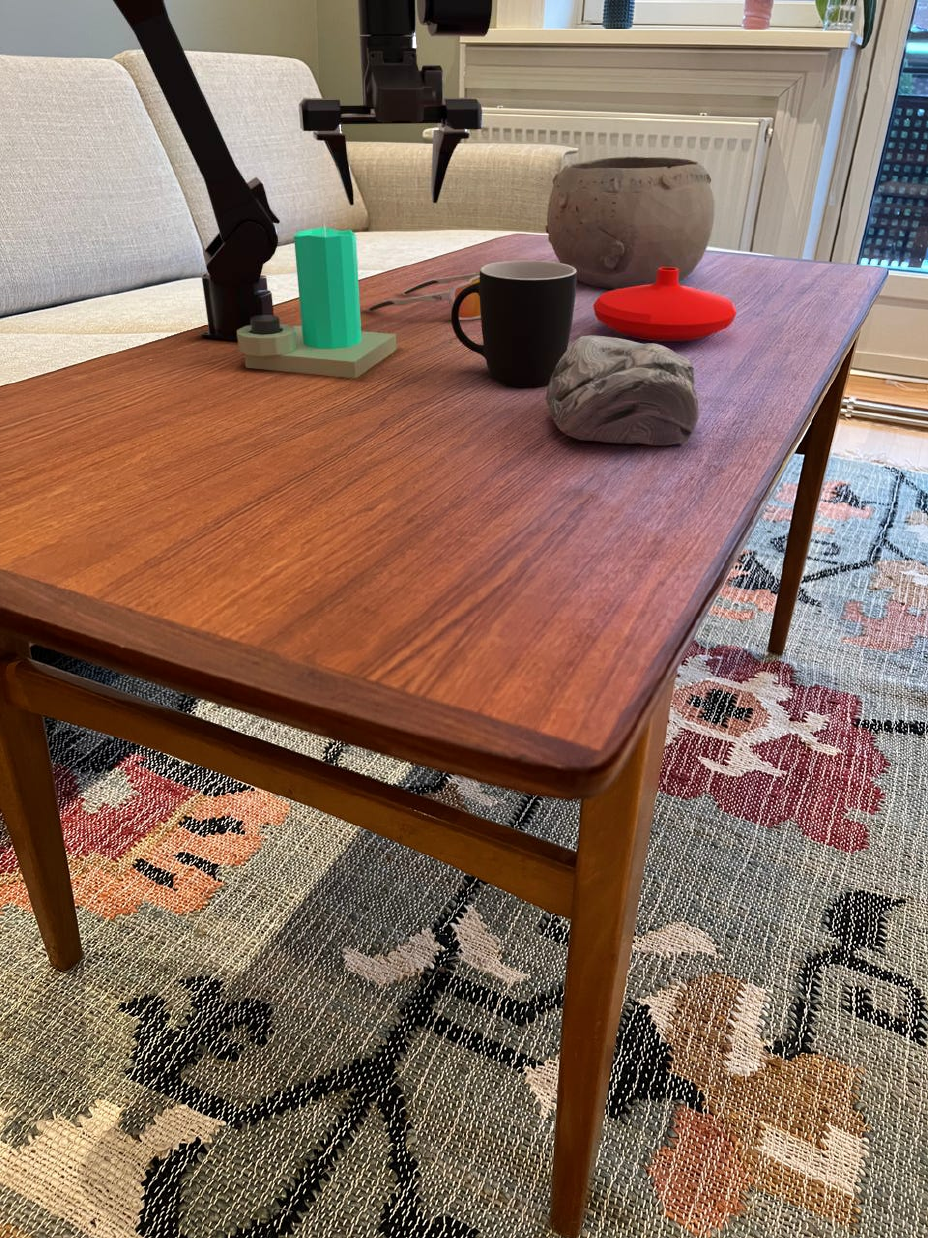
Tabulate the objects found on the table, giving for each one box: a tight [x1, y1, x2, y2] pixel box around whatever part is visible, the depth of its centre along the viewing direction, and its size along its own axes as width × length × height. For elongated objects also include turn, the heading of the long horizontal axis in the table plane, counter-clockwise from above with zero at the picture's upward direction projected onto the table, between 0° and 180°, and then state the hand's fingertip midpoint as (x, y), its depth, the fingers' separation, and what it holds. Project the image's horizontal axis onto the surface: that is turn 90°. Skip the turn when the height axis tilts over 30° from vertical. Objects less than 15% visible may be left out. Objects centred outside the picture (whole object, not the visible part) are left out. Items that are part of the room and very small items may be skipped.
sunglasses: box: [367, 271, 481, 321], centre depth 115 cm, size 14×15×5 cm
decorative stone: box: [545, 335, 700, 446], centre depth 76 cm, size 15×14×10 cm
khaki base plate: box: [237, 323, 398, 379], centre depth 95 cm, size 13×12×4 cm
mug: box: [450, 259, 578, 388], centre depth 88 cm, size 12×9×10 cm
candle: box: [293, 214, 362, 349], centre depth 93 cm, size 6×6×12 cm
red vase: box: [592, 267, 737, 342], centre depth 103 cm, size 16×16×7 cm
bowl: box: [544, 156, 716, 289], centre depth 128 cm, size 23×23×15 cm
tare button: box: [250, 314, 281, 335], centre depth 92 cm, size 3×3×2 cm
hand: (393, 203), depth 102 cm, fingers open, 9 cm apart
